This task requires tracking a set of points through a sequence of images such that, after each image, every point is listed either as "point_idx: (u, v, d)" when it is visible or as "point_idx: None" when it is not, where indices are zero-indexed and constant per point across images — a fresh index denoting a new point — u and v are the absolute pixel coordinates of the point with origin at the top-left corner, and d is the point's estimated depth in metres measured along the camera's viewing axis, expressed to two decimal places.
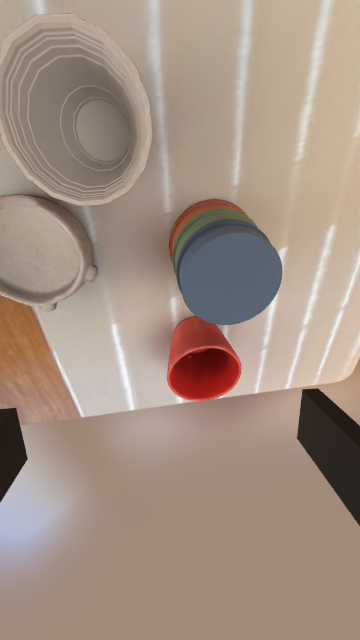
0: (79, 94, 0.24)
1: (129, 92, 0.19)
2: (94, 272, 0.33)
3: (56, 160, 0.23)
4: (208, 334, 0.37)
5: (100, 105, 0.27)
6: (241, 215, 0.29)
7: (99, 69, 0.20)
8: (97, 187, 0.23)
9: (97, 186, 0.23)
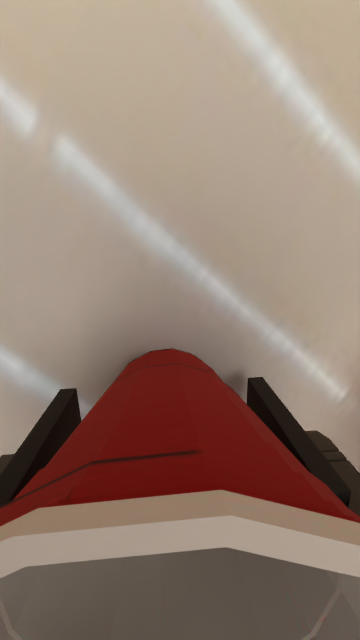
0: None
1: None
2: None
3: (156, 613, 0.09)
4: None
5: None
6: None
7: None
8: None
9: None
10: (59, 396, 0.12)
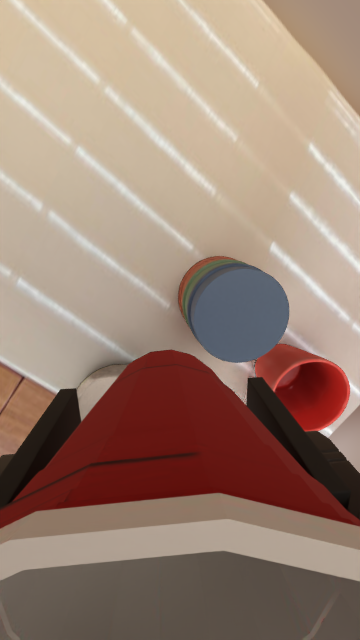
0: None
1: None
2: None
3: (155, 614, 0.09)
4: (279, 360, 0.35)
5: None
6: (209, 265, 0.32)
7: None
8: None
9: None
10: (59, 396, 0.12)
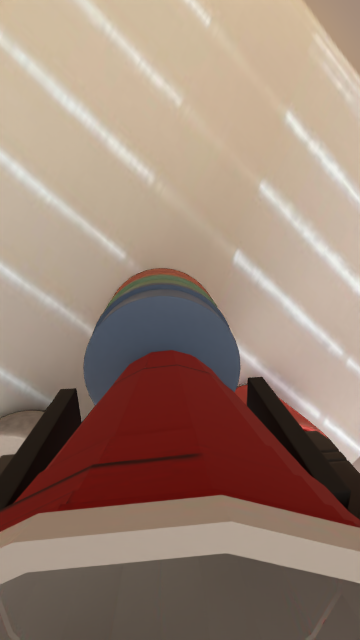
0: None
1: None
2: None
3: (156, 615, 0.09)
4: None
5: None
6: (135, 283, 0.22)
7: None
8: None
9: None
10: (59, 396, 0.12)
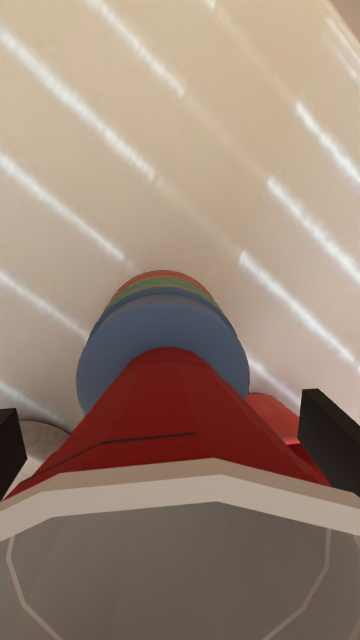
0: None
1: None
2: None
3: (157, 594, 0.09)
4: None
5: None
6: (134, 286, 0.20)
7: None
8: (291, 636, 0.07)
9: (286, 626, 0.08)
10: None
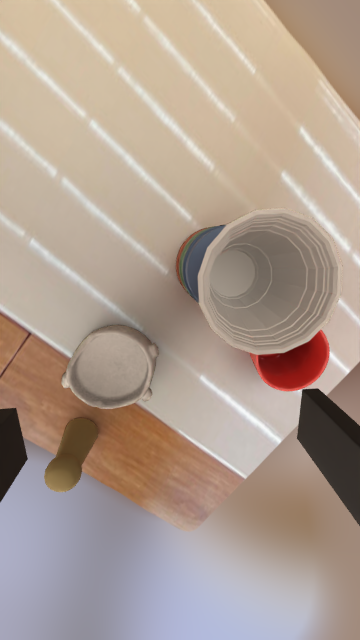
0: None
1: (279, 229, 0.20)
2: (154, 347, 0.41)
3: (242, 322, 0.24)
4: None
5: (220, 258, 0.30)
6: (205, 230, 0.36)
7: (239, 237, 0.22)
8: (294, 314, 0.23)
9: (292, 313, 0.23)
10: None
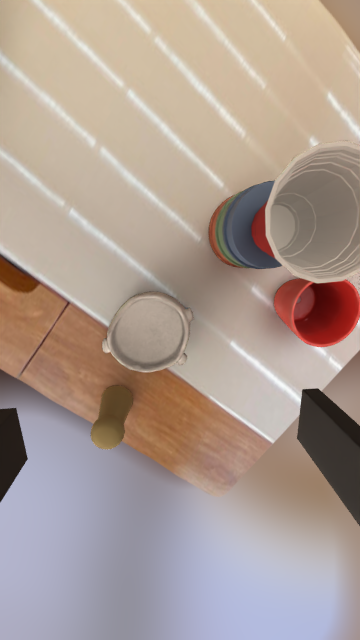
0: None
1: (336, 166, 0.22)
2: (190, 311, 0.43)
3: (294, 263, 0.26)
4: (298, 283, 0.40)
5: None
6: (241, 192, 0.37)
7: (294, 179, 0.24)
8: (345, 250, 0.24)
9: (343, 250, 0.24)
10: None
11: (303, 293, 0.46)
